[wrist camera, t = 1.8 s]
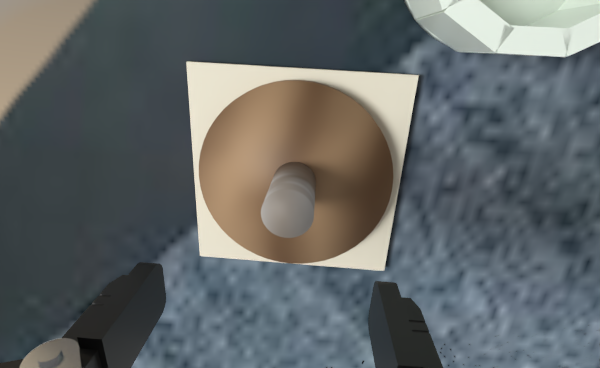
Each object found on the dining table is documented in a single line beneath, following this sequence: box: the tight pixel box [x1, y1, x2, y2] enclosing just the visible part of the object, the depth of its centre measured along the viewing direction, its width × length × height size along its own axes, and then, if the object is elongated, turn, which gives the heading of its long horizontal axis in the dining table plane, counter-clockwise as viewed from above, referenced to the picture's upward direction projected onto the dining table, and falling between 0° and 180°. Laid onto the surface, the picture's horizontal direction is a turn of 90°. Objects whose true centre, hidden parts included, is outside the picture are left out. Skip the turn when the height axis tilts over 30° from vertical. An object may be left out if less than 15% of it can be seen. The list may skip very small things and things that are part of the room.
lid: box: [199, 80, 393, 264], centre depth 22 cm, size 14×14×6 cm
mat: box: [186, 61, 419, 271], centre depth 25 cm, size 15×15×1 cm
